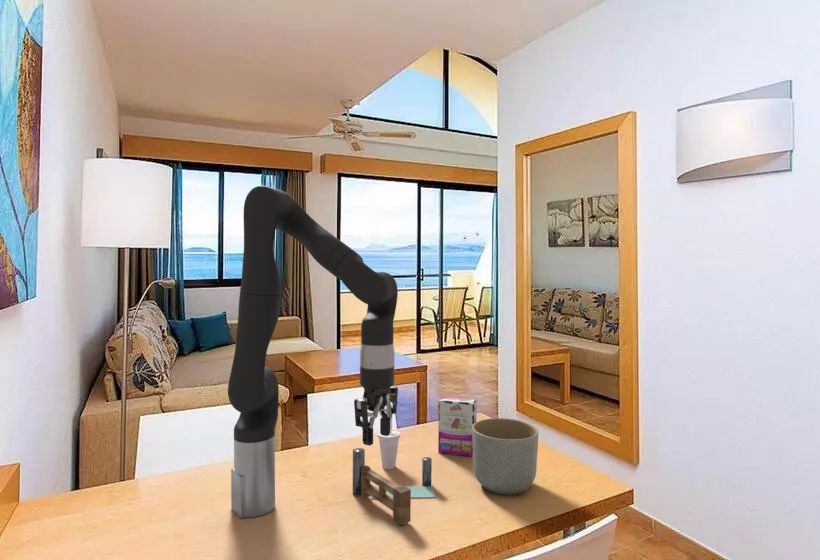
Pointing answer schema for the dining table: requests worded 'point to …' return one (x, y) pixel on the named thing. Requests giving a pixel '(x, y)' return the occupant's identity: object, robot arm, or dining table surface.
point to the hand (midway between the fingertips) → (376, 439)
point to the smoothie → (389, 448)
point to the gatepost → (357, 469)
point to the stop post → (426, 471)
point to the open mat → (418, 492)
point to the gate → (400, 495)
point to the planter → (504, 454)
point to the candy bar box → (456, 425)
